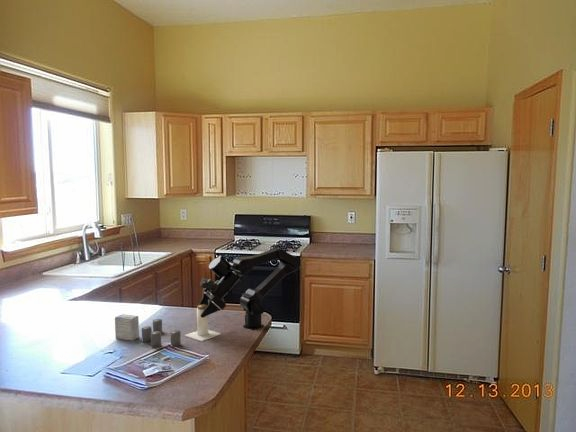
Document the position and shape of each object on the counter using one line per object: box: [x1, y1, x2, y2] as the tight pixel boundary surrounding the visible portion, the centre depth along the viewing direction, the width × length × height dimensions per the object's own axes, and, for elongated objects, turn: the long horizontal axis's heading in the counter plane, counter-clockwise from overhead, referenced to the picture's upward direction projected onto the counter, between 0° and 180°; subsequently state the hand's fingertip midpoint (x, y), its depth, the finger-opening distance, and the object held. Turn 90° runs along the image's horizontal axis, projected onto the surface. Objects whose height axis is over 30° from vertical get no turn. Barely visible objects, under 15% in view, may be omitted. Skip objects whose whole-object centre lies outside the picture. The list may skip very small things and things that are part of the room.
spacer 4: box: [170, 329, 182, 348], centre depth 156 cm, size 4×4×5 cm
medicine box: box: [114, 313, 140, 341], centre depth 163 cm, size 8×4×9 cm, turn 71°
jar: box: [196, 304, 209, 336], centre depth 166 cm, size 4×4×12 cm
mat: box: [184, 329, 221, 342], centre depth 166 cm, size 10×10×1 cm
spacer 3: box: [150, 331, 162, 349], centre depth 155 cm, size 4×4×5 cm
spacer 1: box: [141, 325, 153, 343], centre depth 160 cm, size 4×4×5 cm
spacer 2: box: [152, 318, 163, 334], centre depth 169 cm, size 4×4×5 cm
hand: (199, 313), depth 165 cm, fingers open, 9 cm apart
